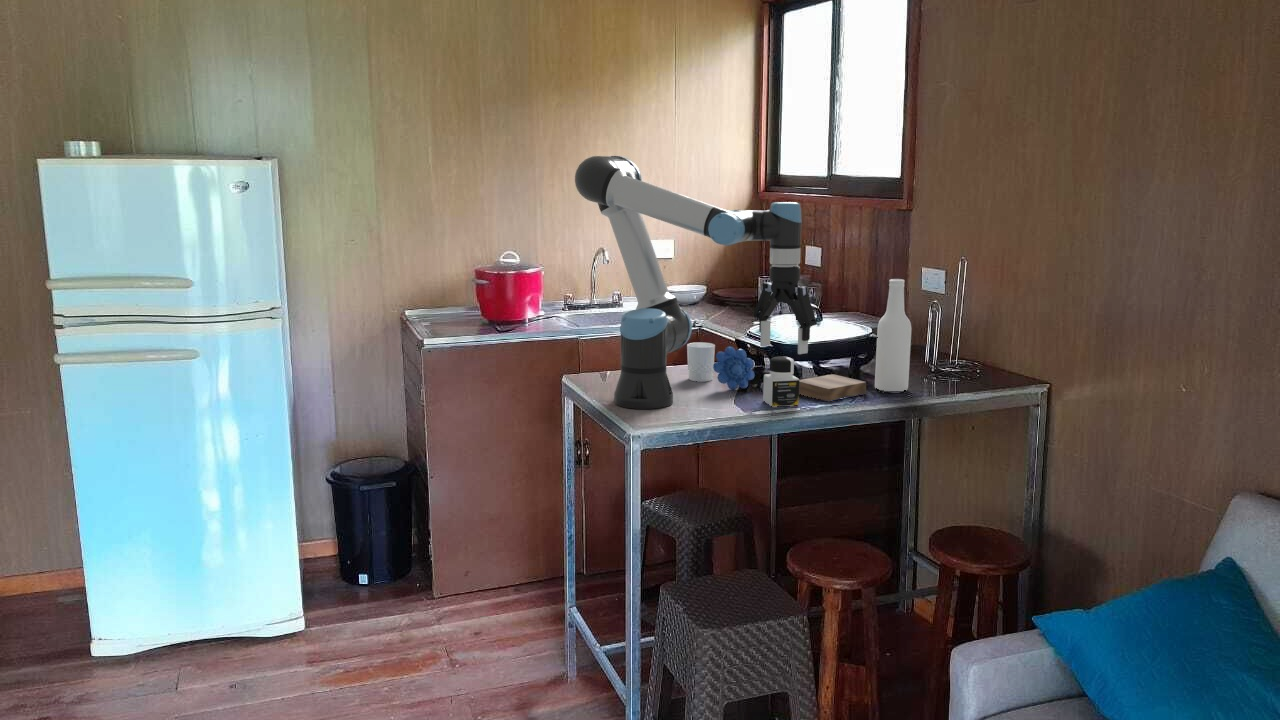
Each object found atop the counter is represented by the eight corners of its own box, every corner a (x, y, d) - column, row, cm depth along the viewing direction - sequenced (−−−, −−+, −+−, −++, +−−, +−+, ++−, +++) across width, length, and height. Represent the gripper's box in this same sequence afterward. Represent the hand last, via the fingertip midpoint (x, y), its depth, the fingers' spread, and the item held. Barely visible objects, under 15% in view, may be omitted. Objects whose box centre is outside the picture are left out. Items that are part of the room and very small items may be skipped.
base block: (828, 402, 244) (828, 388, 243) (795, 393, 254) (795, 380, 253) (865, 394, 252) (866, 382, 251) (832, 386, 262) (832, 374, 261)
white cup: (715, 382, 267) (715, 347, 265) (687, 382, 267) (687, 347, 265) (713, 376, 274) (714, 342, 272) (686, 376, 274) (686, 342, 272)
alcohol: (909, 394, 253) (916, 281, 247) (875, 393, 254) (881, 281, 248) (906, 387, 261) (912, 278, 255) (873, 385, 262) (878, 277, 256)
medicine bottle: (771, 407, 239) (773, 360, 236) (762, 401, 245) (763, 355, 243) (798, 406, 240) (800, 359, 238) (788, 399, 247) (790, 354, 244)
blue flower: (717, 394, 253) (718, 349, 250) (710, 388, 259) (711, 345, 257) (759, 392, 255) (760, 348, 253) (751, 386, 261) (752, 343, 259)
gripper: (832, 267, 228) (830, 354, 232) (762, 260, 248) (761, 341, 252) (810, 270, 223) (808, 358, 228) (740, 262, 244) (739, 344, 248)
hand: (783, 349), depth 240 cm, fingers open, 13 cm apart
